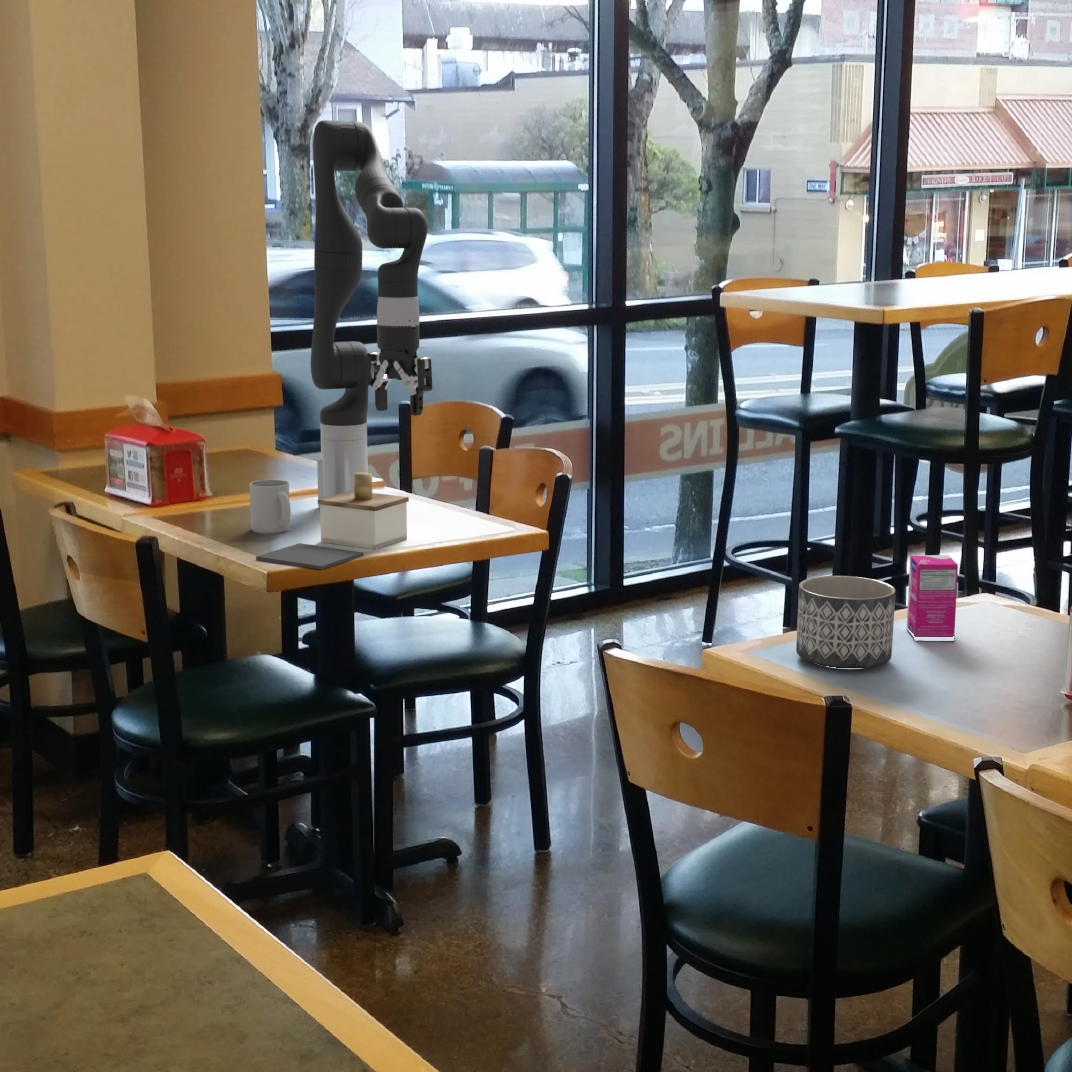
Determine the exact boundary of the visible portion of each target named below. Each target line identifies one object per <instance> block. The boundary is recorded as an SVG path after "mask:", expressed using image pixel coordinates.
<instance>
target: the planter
mask: <svg viewBox="0 0 1072 1072" xmlns="http://www.w3.org/2000/svg"><path fill="white" fill-rule="evenodd" d="M895 602H896V588H895V586H894V585H891V584H890V583H887V582H884V581H881V580H877V579H875V578H874V579H873V578H867V577H859V576H852V575H851V576H850V575H825V576H824V575H823V576H816V577H810V578H807V579H804V580H802V581H800V582H799V584H798V601H797V603H798V604H797V619H796V620H797V623H796V644H795V645H796V647H795V648H796V650H795V651H796V654H797V655H798V656H799V658H801V659H802V660H805V661H807V662H810V663H812V664H815V665H818V664H819V665H818V666H820V665H823V666H829V667H836V668H866V669H869V668H875V667H880V666H883V665H885V664H887V663H888V662H890V661H891V659H892V656H893V654H892V653H893V640H894V639H893V636H894V624H895V623H894V621H895V607H896V606H895V605H896V604H895ZM823 666H822V667H823Z"/></svg>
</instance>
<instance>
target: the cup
mask: <svg viewBox="0 0 1072 1072" xmlns="http://www.w3.org/2000/svg"><path fill="white" fill-rule="evenodd" d="M249 502H250V503H249V505H250V509H249V510H250V511H249V512H250V528H251V530H252V532H254V533H256V534H262V535H264V534H265V535H269V534H270V535H272V534H273V535H275V534H283V533H286V532H288V531H289V530H290V528H291V521H290V520H291V514H292V513H291V511H292V510H291V501H290V482H289V481H286V480H284V479H283V480H282V479H281V480H280V479H261V480H255V481H251V482H250V483H249Z"/></svg>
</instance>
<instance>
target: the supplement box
mask: <svg viewBox="0 0 1072 1072" xmlns="http://www.w3.org/2000/svg"><path fill="white" fill-rule="evenodd" d="M908 571H909V572H908V573H909V574H908V576H909V577H908V591H907V592H908V595H907V613H906V614H907V615H906V616H907V617H906V618H907V619H906V629H907V628H908V629H909V630H910V631H911V632H912V633H913V634H914V636H915V637H953V636H954V637H955V632H956V628H955V627H956V615H957V614H956V611H957V610H956V609H957V591H958V590H957V589H958V575H959V574H958V573H959V572H958V571H959V564H958V563H957V562H956V561H955V560H954V559H953V558H952V557H951V556H950V555H949V554H934V555H933V554H931V555H929V554H928V555H927V554H925V555H924V554H916V555H915V554H914V555H913V554H911V555H910V557H909V570H908Z"/></svg>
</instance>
